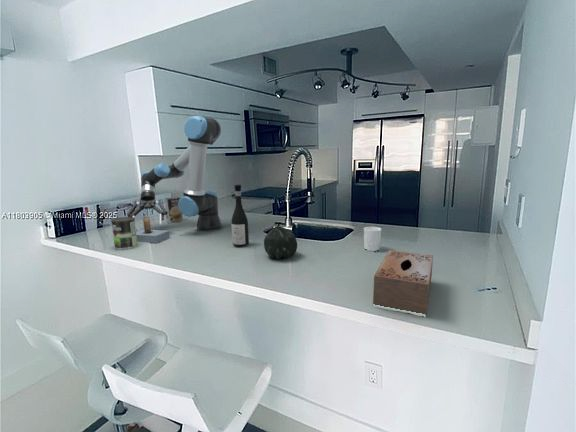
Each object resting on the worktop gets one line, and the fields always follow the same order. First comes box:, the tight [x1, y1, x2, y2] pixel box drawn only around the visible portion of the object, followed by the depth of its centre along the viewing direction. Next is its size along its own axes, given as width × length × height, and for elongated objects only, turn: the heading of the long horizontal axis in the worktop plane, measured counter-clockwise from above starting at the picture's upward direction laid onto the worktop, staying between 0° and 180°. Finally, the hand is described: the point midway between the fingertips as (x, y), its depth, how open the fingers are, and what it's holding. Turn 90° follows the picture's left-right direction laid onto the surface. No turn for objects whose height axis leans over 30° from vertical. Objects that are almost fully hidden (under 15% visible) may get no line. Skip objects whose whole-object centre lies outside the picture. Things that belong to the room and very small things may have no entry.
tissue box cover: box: [372, 249, 434, 314], centre depth 98 cm, size 26×14×10 cm, turn 153°
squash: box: [263, 225, 298, 260], centre depth 135 cm, size 14×15×15 cm
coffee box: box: [164, 197, 184, 224], centre depth 207 cm, size 9×6×16 cm
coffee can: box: [110, 216, 138, 251], centre depth 153 cm, size 10×10×14 cm
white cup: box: [363, 226, 382, 250], centre depth 142 cm, size 8×8×10 cm
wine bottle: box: [230, 184, 250, 248], centre depth 150 cm, size 8×8×30 cm
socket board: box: [136, 228, 170, 244], centre depth 166 cm, size 18×11×4 cm, turn 76°
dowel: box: [142, 217, 152, 234], centre depth 165 cm, size 3×3×12 cm
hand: (147, 226), depth 166 cm, fingers open, 13 cm apart
